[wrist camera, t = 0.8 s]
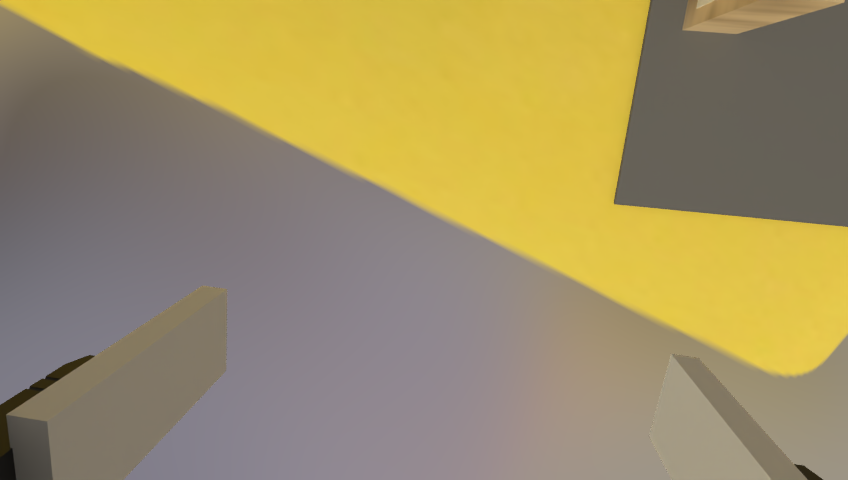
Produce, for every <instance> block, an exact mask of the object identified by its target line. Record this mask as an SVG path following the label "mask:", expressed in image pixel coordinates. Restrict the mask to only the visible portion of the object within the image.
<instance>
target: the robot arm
mask: <svg viewBox="0 0 848 480" xmlns="http://www.w3.org/2000/svg"><path fill="white" fill-rule="evenodd" d="M226 332H227V289H222V288H215V287H208V286H202V287H200V288H198V289H197V290H195V291H194V292H192V293H191V294H189V295H188V296H186V297H185V298H183V299H182V300H180V301H178V302H177V303H175V304H174V305H172V306H171V307H169V308H168V309H166V310H165V311H163V312H162V313H160V314H159V315H157V316H156V317H154V318H153V319H151V320H150V321H148V322H146V323H145V324H143V325H142V326H140V327H139V328H137V329H136V330H134V331H133V332H131V333H130V334H128V335H127V336H125V337H124V338H122V339H121V340H119V341H118V342H116V343H114V344H113V345H111V346H110V347H108V348H107V349H105V350H104V351H102V352H101V353H99V354H98V355H97V356H91V355H89V356H86V357H83V358H81V359H78V360H75V361H73V362H70V363H67V364H65V365H63V366H62V367H60V368H58V369H57V370H55V371H54V372H52V373H51V374H49V375H47V376H46V378H45V379H41V380H39V381H38V382H36V383H34V384H33V385H31V386H30V388H29V389H25V390H23V391H22V392H20V393H19V394H17V395H15V396H14V397H12V398H11V399H9V400H7V401H6V402H4V403H3V404H1V405H0V480H123V479H124V478H125V477H126V476H127V475H128V474H129V473H130V472H131V471H132V470H133V469H134V468H135V467H136V466H137V465H138V464H139V463H140V461H141V460H142V459H143V458H144V457H145V456H146V455H147V454H148V453H149V452H150V451H151V450H152V449H153V448H154V446H155V445H156V444H157V443H158V442H159V441H160V440H161V439H162V438H163V437H164V436H165V435H166V434H167V433H168V432H169V431H170V429H171V428H172V427H173V426H174V425H175V424H176V423H177V422H178V421H179V420H180V419H181V418H182V417H183V416H184V415H185V414H186V413H187V411H188V410H189V409H190V408H191V407H192V406H193V405H194V404H195V403H196V402H197V401H198V400H199V399H200V398H201V397H202V396H203V395H204V394H205V392H206V391H207V390H208V389H209V388H210V387H211V386H212V385H213V384H214V383H215V382H216V381H217V380H218V379H219V378H220V377H221V375H222V374H223V373H224V372H225V371H226V338H227V337H226V336H227V333H226ZM649 438H650V440H651V442H652V443H653V445H654V447H655V449H656V451H657V453H658V455H659V456H660V458H661V461H662V462H663V464H664V466H665V468H666V470H667V472H668V474H669V476H670V478H671V479H672V480H823V479H822V478H820V477H819V476H817V475H816V474H815V473H813V472H812V471H810V470H809V469H807V468H806V467H805V466H802V465H796V464H793V463H792V462H791V460H790V459H789V458H788V457H787V456H786V455H785V454H784V453H783V452H782V450H781V449H780V448H779V447H778V446H777V445H776V444H775V443H774V442H773V440H772V439H771V438H770V437H769V436H768V435H767V434H766V433H765V431H764V430H763V429H762V428H761V427H760V426H759V425H758V424H757V422H756V421H754V419H753V418H752V417H751V416H750V415H749V414H748V412H747V411H746V410H745V409H744V408H743V407H742V406H741V405H740V404H739V402H738V401H737V400H736V399H735V398H734V397H733V396H732V395H731V393H730V392H729V391H728V390H727V389H726V388H725V387H724V386H723V385H722V383H721V382H720V381H719V380H718V379H717V378H716V377H715V376H714V374H713V373H712V372H711V371H710V370H709V369H708V368H707V367H706V366H705V365H704V363H703V362H702V361H701V360H700V359H699V358H695V357H689V356H681V355H675V354H671V357H670V361H669V364H668V368H667V372H666V376H665V379H664V383H663V386H662V390H661V394H660V398H659V402H658V405H657V409H656V412H655V416H654V420H653V424H652V427H651V431H650V434H649Z"/></svg>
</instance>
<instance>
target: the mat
mask: <svg viewBox="0 0 848 480" xmlns="http://www.w3.org/2000/svg"><path fill="white" fill-rule="evenodd" d="M687 3H688V0H651V1H650V7H649V12H648V18H647V23H646V29H645V34H644V40H643V45H642V51H641V56H640V62H639V67H638V73H637V78H636V84H635V89H634V95H633V100H632V106H631V111H630V117H629V122H628V127H627V133H626V138H625V144H624V149H623V155H622V160H621V166H620V171H619V177H618V182H617V188H616V193H615V199H614V204H619V205H629V206H640V207H650V208H660V209H670V210H681V211H691V212H701V213H712V214H722V215H732V216H742V217H753V218H763V219H773V220H784V221H794V222H804V223H815V224H825V225H835V226H845V227H848V0H845V2H844V3H841V4H838V5H834V6H831V7H828V8H824V9H821V10H817V11H814V12H811V13H807V14H804V15H800V16H797V17H793V18H790V19H787V20H783V21H780V22H776V23H773V24H770V25H766V26H763V27H759V28H756V29H752V30H749V31H746V32H742V33H739V34H729V33H715V32H701V31H687V30H682V28H683V23H684V18H685V13H686V8H687Z"/></svg>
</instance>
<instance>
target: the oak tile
mask: <svg viewBox="0 0 848 480" xmlns="http://www.w3.org/2000/svg"><path fill="white" fill-rule="evenodd" d="M844 2H845V0H688V3H687V8H686V13H685V18H684V23H683V28H682V30H687V31H701V32H715V33H729V34H739V33H742V32H746V31H749V30H752V29H756V28H759V27H763V26H766V25H770V24H773V23H776V22H780V21H783V20H787V19H790V18H793V17H797V16H800V15H804V14H807V13H811V12H814V11H817V10H821V9H824V8H828V7H831V6H834V5H838V4H841V3H844Z"/></svg>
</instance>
